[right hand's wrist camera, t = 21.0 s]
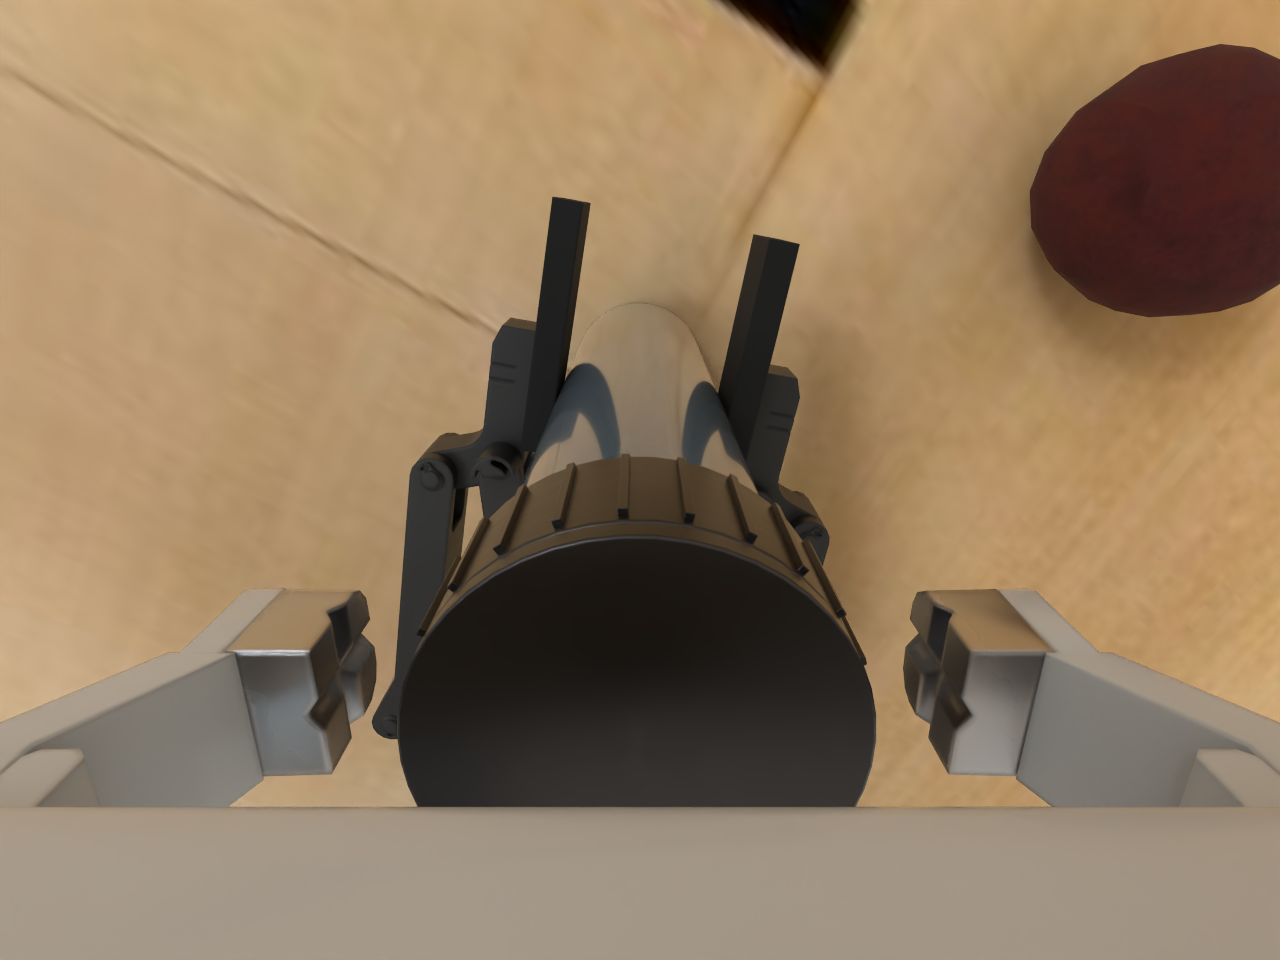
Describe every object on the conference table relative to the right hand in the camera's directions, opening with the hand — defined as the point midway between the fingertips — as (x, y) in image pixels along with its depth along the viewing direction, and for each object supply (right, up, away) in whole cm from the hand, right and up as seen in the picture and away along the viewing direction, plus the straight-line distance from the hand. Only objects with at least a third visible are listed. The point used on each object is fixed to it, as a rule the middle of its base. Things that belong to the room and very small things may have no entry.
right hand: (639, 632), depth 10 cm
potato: (+16, +12, +15) cm, 25 cm away
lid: (0, -1, -2) cm, 2 cm away
